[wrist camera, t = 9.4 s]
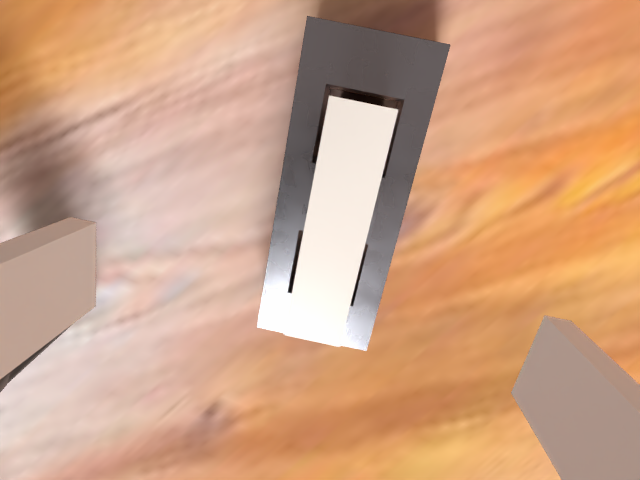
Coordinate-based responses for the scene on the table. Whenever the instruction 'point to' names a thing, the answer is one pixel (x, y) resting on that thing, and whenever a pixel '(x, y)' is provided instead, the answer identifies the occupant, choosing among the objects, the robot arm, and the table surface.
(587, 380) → the robot arm
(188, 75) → the table surface
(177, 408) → the table surface
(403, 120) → the cinder block
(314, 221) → the white arch
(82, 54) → the table surface
